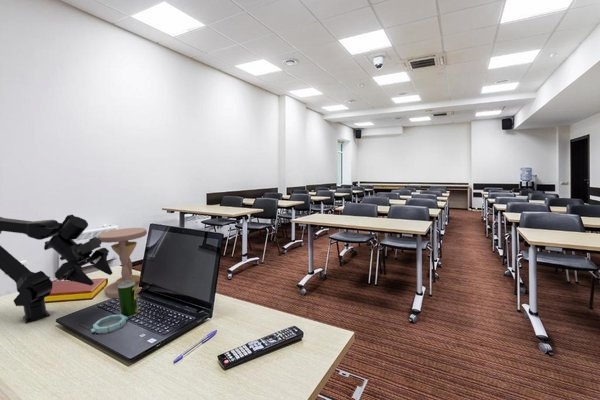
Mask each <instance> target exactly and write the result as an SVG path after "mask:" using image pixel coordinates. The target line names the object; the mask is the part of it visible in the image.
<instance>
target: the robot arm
mask: <svg viewBox="0 0 600 400" xmlns="http://www.w3.org/2000/svg"><path fill="white" fill-rule="evenodd" d="M88 226H89V223H88V221H87V220H86V219H84V218H81V217H79V216H75V215H74V214H68V215H66V217H65V218H64V220H63V221H62V222H59V221H57V220H55V219H45V220H44V219H43V220H36V221H34V220H33V221H32V220H23V219H22V220H21V219H16V218H15V219H14V218H7V217H6V218H5V217H3V216H0V235H1V234H2V232H6V233H7V232H8V233H16V234H24V235H26V236H27V237H28V238H32V239H35V240H39V241H40V240H41V241H42V240H44V239H48V238H50V239H49V240H47V241H45V242H44V247H43V248H44V249H43V250H45V251H47V250H50V249H53V250H54V251H55V252H56V253H57V254H58V255H60V258H59V260H60V261H64V260H66V262H64V263H62V264H61V265H60V266H59V268H58V269H57V270H56V271H55V272H54V277H55V278H56V279H57V280H58V281H59V282H60V281H64V282H67V281H68V282H75V283H78V284H79V283H80V284H83V285H88V286H93V285H94V284H95V283H94V281H93V280H92V279H91V278H90V277H89V275H87V274H86V273H85V272H84V271H83V268H82V267H83V266H85V265H88V264H90V265H93V268H95V269H97V270H98V271H101V272H103V273H105V274H107V275H109V276H112V274H113V271H112V268H111V266H110V265H109V262H108V260H107V259H108V256H109V253H110V250H109V249H107V247H101V244H102V243H103V242H101V240H100V239H99V238H98V236H93V237H92V238H89V240H88V241H87V242H85V243H82V242H79V243H78V242H76V241H75V240H77V239H78V238H79V237H80V236H81V235H82V234H83V232H84V231H86V229H87V228H88ZM94 250H95V251H94ZM0 270H1V272H2V273H4V274H5V275H6V276H7V277H9V278H10V279H11V280H12V281H14V282H15V284H16V291H17V293H18V295H17V296H16V297H15V298H14V299H13V303H14V305H15V306H16V307H23V312H24V315H23V316H22V319H23V321H24V323H25V324H27V323H30V322H34V321H37V320H39V319H40V320H41V319H43V318H46V317H50V315H51V314H50V313H49V311H48V309H47V307H46V300H45V298H46V297H49V296H51V293H52V290H53V281H52V279H51V276H48V275H47V274H46V273H45V272H44V271H42V270H39V271H36V272H34V271H31V270H30V269H29V268H27V267H26V266H25V265H24V264H22V262H20V260H18V259H17V258H16V257H14V255H13V254H11V253H10V252H9V251H8V250H6V249H5V248H4V247H3V246H2V245H1V244H0Z"/></svg>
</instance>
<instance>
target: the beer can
mask: <svg viewBox="0 0 600 400" xmlns="http://www.w3.org/2000/svg"><path fill="white" fill-rule="evenodd" d="M117 289H118V297H119V298H118V303H119V311H120V314H122V315H124V316H127V317H131V316H134V315H136V314H137V313H138V312H139V305H138V299H137V298H138V296H137V295H138V294H137V295H136V286H135V282H134V280H131V279H130V280H124V281H121V282H119V283H118V287H117ZM137 315H138V314H137ZM137 315H136V316H137ZM134 317H135V316H134ZM131 318H132V317H131Z"/></svg>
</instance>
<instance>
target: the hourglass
mask: <svg viewBox="0 0 600 400" xmlns="http://www.w3.org/2000/svg"><path fill="white" fill-rule="evenodd" d="M147 234H148V231H147V229H146V228H144V227H128V228H119V229H113V230H110V231H109V230H108V231H105V232H102V233H99V234H98V235H97V238H99V239H100V240H101V242H102V243H108V244H109V243H114V244H112V245H110V247H111V250H113V251H114V252H115V253H116V254H117V255H118V257H119V261H120V264H121V272H120V274H121V277H120V278H118V279H116V281H115V282H113V283H111V284H109V285H108V286H106V287H105V288H104V295H105V297H107V298H108V299H117V298H116V297H118V289H117V287H118V283H119V282H121V281H124V280H130V279H131V280H134V282H135V286H136V294H137V293H139V292H140V291H141V289H142V287H139V280H140V277H141V276H140V275H138V274H133V263H132V259H131V255H132V253H133V252H134V250H135V248H136V247H137V244H138V242H137V241H134V240H137V239H140V238H143V237H145V236H147ZM132 240H133V241H132ZM137 295H138V294H137Z"/></svg>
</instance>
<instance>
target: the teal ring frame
mask: <svg viewBox="0 0 600 400" xmlns="http://www.w3.org/2000/svg"><path fill="white" fill-rule="evenodd" d="M127 320H129V318H128V317H127V316H124V315H122V314H121V313H120V314H111V315H108V316H105V317H102V318H100V319H98V320H96V322H95V323H94V324H92V328H90V331H91V333H94V332H96V333H107V332H111V333H113V331H114V332H116V330H117V331H119V330H120V329H122V328H124V327H125V326H124V325H126V324H127ZM96 333H94V334H96ZM107 334H108V333H107Z"/></svg>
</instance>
